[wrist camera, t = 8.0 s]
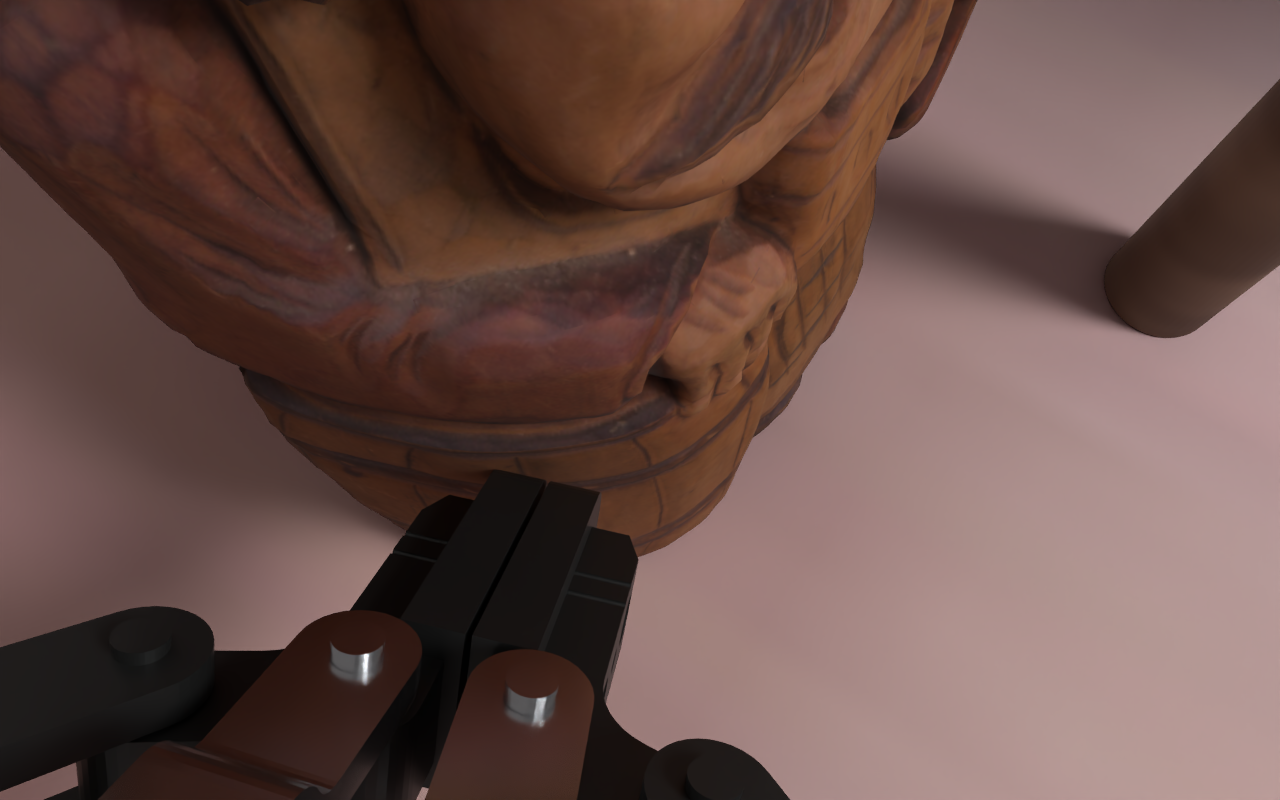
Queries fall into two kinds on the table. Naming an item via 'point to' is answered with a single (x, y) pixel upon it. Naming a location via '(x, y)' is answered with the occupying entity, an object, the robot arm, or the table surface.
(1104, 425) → the table surface
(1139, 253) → the stand
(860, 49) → the wooden figurine
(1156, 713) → the table surface
